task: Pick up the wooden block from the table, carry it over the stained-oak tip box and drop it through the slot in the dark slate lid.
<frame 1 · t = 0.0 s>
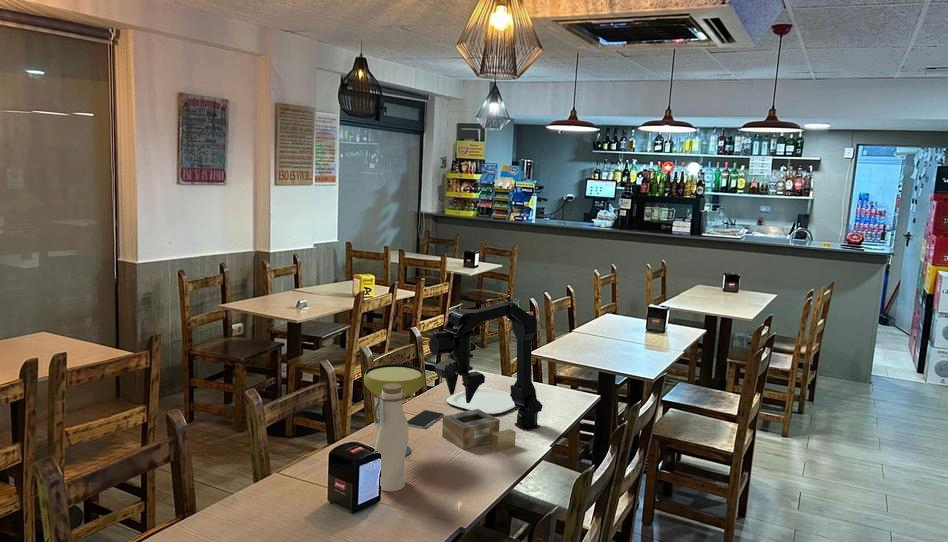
hand: (459, 398, 212), 15 cm above the table, fingers open, 9 cm apart
cocktail glass: (393, 451, 207), on the table
plate: (485, 404, 254), on the table
wooden block: (503, 447, 212), on the table
smartphone: (424, 421, 234), on the table
water bottle: (389, 486, 184), on the table
tip box: (470, 438, 218), on the table
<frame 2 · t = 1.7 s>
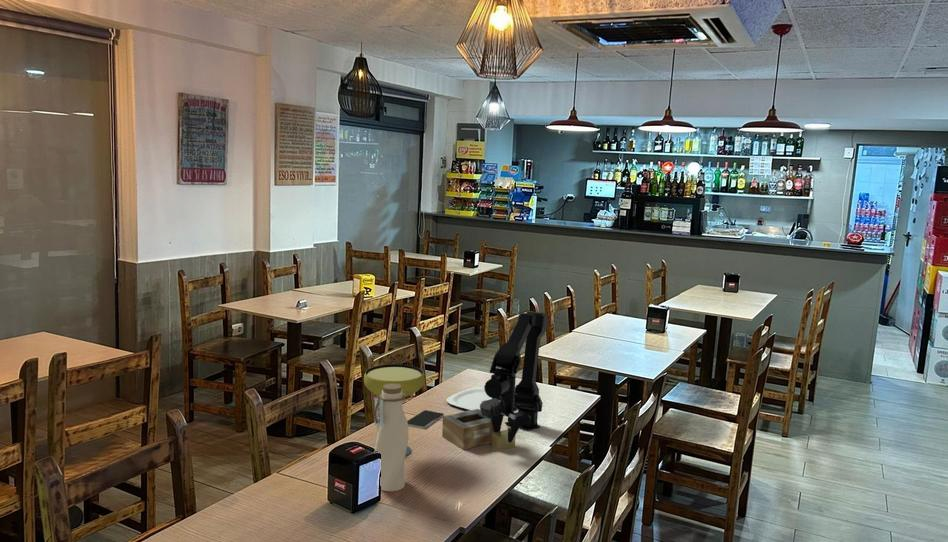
hand: (503, 438, 211), 3 cm above the table, fingers open, 6 cm apart
nothing on the table moved.
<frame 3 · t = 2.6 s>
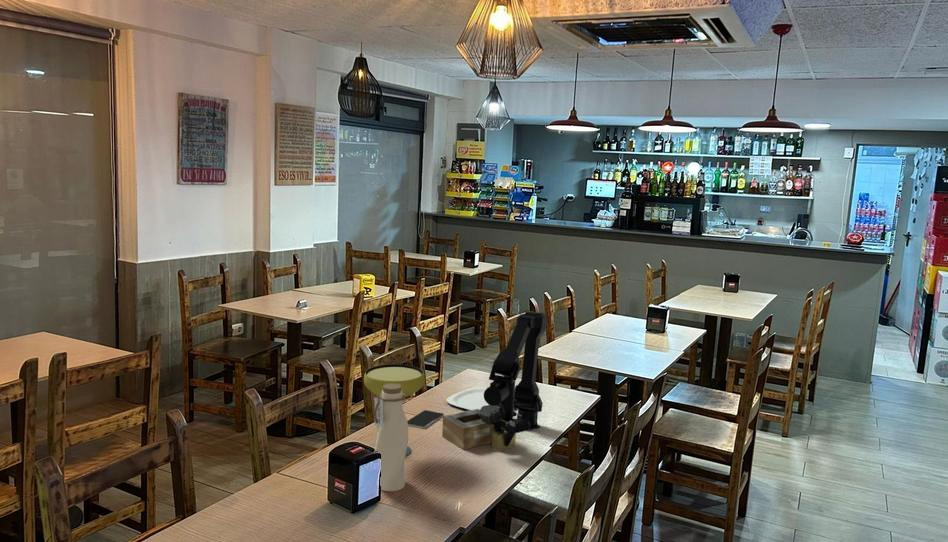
hand: (503, 444, 212), 1 cm above the table, fingers closed on wooden block, 3 cm apart
wooden block: (503, 447, 212), on the table, touching gripper
everything else where it was.
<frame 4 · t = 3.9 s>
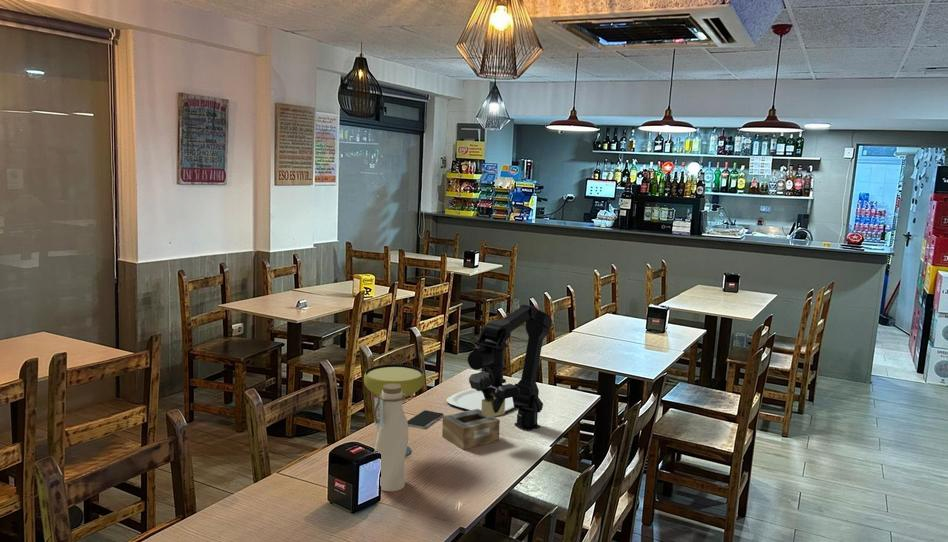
hand: (492, 411, 213), 11 cm above the table, fingers closed on wooden block, 3 cm apart
wooden block: (493, 414, 213), point 10 cm above the table, touching gripper
everything else where it was.
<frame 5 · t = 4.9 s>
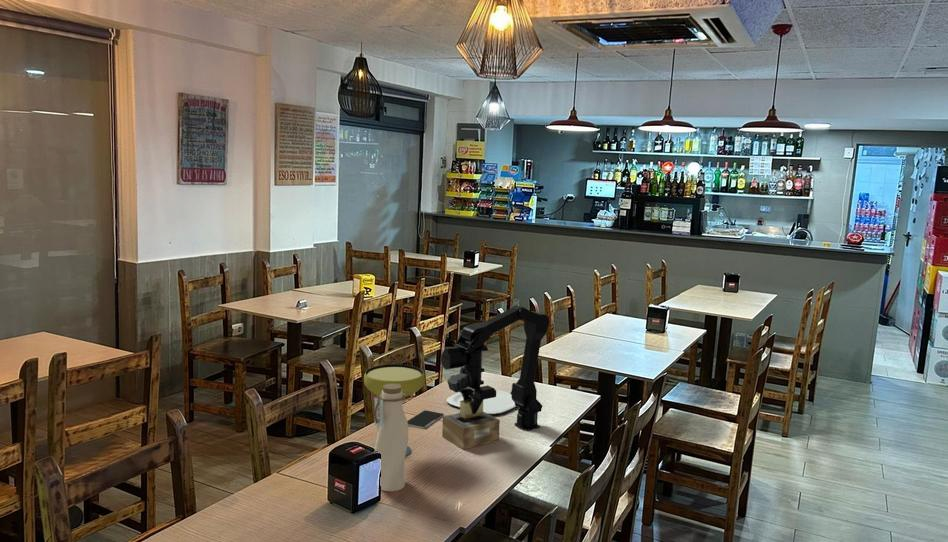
hand: (471, 412, 217), 9 cm above the table, fingers closed on wooden block, 3 cm apart
wooden block: (471, 415, 217), point 8 cm above the table, touching gripper
everything else where it was.
when the fingers open (9 cm above the table, at t = 5.3 s): wooden block drops 6 cm and tips over, resting on tip box.
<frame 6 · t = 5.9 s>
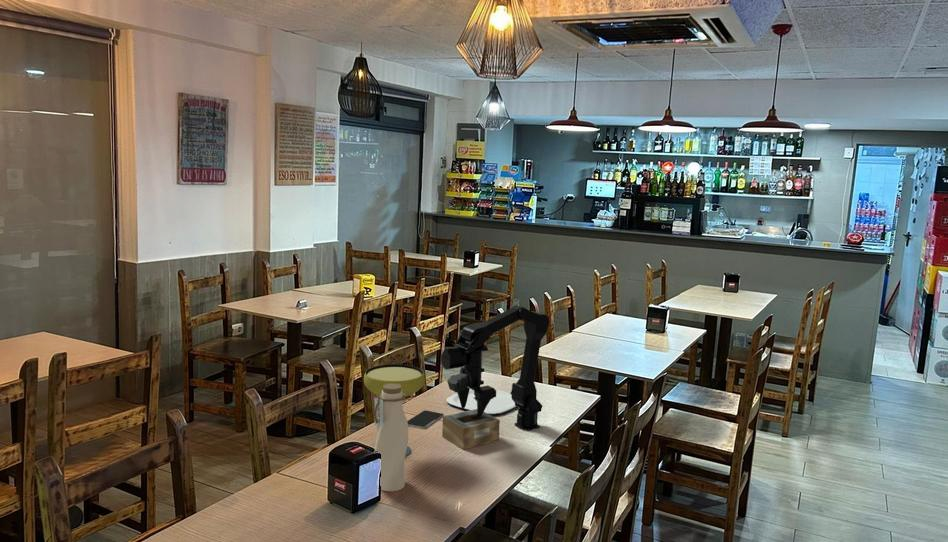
hand: (471, 412, 217), 9 cm above the table, fingers open, 9 cm apart
wooden block: (471, 434, 218), point 2 cm above the table, tilted 51°, touching tip box
everything else where it was.
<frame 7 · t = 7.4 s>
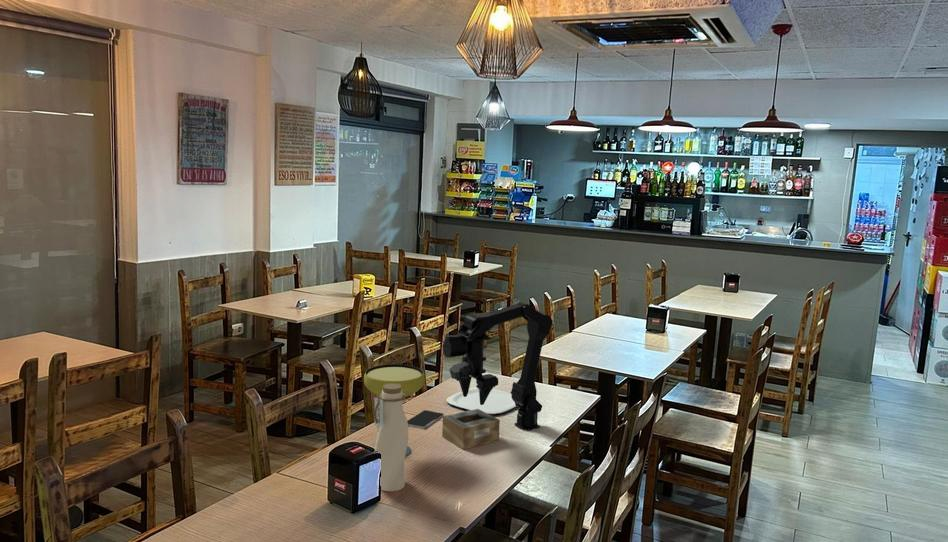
hand: (473, 400, 218), 12 cm above the table, fingers open, 9 cm apart
nothing on the table moved.
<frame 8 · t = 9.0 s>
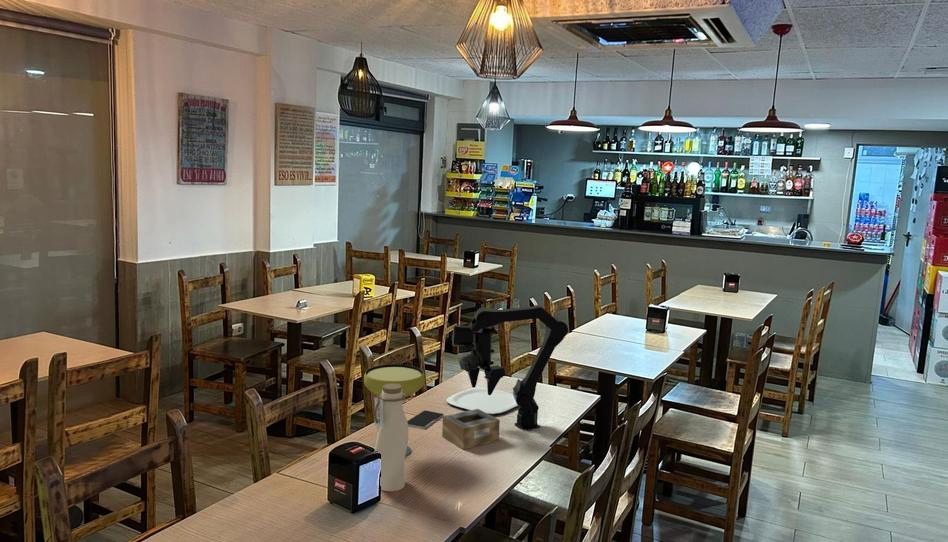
hand: (481, 391, 227), 13 cm above the table, fingers open, 9 cm apart
nothing on the table moved.
at the end: wooden block inside the target area on the tip box (0.5 cm from its centre), point 1.8 cm above the tip box's base; the gripper is holding nothing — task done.
